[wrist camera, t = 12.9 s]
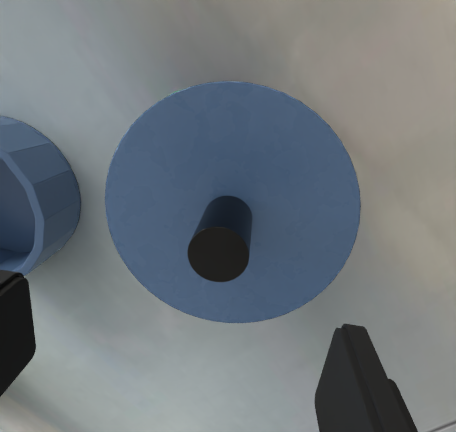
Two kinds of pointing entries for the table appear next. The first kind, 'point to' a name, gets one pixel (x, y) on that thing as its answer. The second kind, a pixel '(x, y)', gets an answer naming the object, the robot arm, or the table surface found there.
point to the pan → (33, 197)
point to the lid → (232, 202)
